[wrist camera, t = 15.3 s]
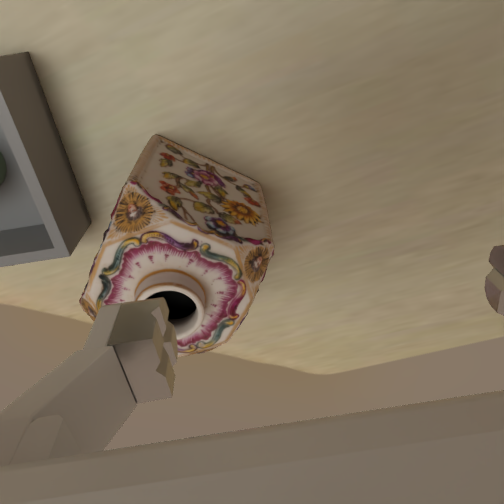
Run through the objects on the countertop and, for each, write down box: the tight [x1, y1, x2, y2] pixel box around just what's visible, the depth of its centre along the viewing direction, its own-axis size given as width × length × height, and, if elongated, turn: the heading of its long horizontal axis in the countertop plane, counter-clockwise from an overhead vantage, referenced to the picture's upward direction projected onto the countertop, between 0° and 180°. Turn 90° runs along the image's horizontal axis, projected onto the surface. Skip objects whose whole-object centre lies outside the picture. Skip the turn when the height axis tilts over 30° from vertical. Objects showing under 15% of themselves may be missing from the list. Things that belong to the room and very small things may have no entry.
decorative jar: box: [79, 135, 274, 357], centre depth 35 cm, size 12×12×18 cm
